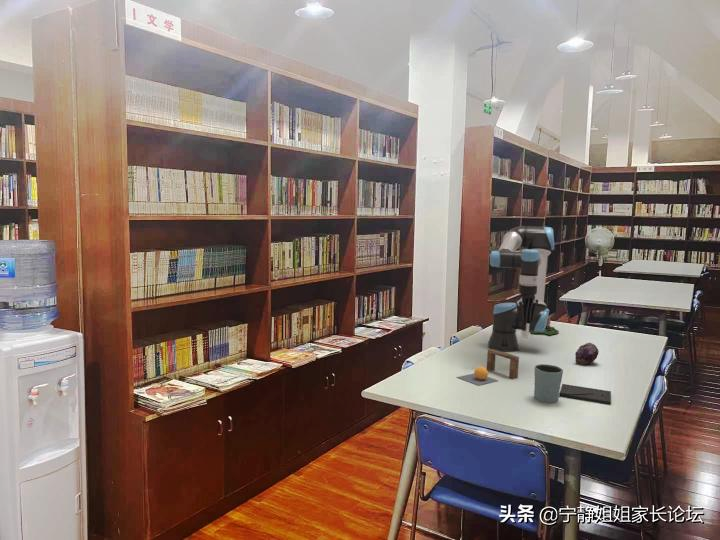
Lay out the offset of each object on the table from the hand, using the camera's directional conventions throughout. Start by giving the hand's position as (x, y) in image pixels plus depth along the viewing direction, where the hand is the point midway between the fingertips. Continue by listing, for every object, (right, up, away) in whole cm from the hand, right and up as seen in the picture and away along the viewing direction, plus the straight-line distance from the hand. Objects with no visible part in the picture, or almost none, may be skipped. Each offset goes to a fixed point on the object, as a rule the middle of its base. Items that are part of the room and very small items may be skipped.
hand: (524, 337), depth 237 cm
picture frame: (+14, -19, -31) cm, 39 cm away
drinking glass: (-3, -19, -36) cm, 41 cm away
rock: (+33, -14, +14) cm, 39 cm away
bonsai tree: (+30, -7, +76) cm, 81 cm away
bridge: (-12, -15, -6) cm, 20 cm away
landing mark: (-24, -15, -15) cm, 32 cm away
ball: (-23, -13, -16) cm, 31 cm away
